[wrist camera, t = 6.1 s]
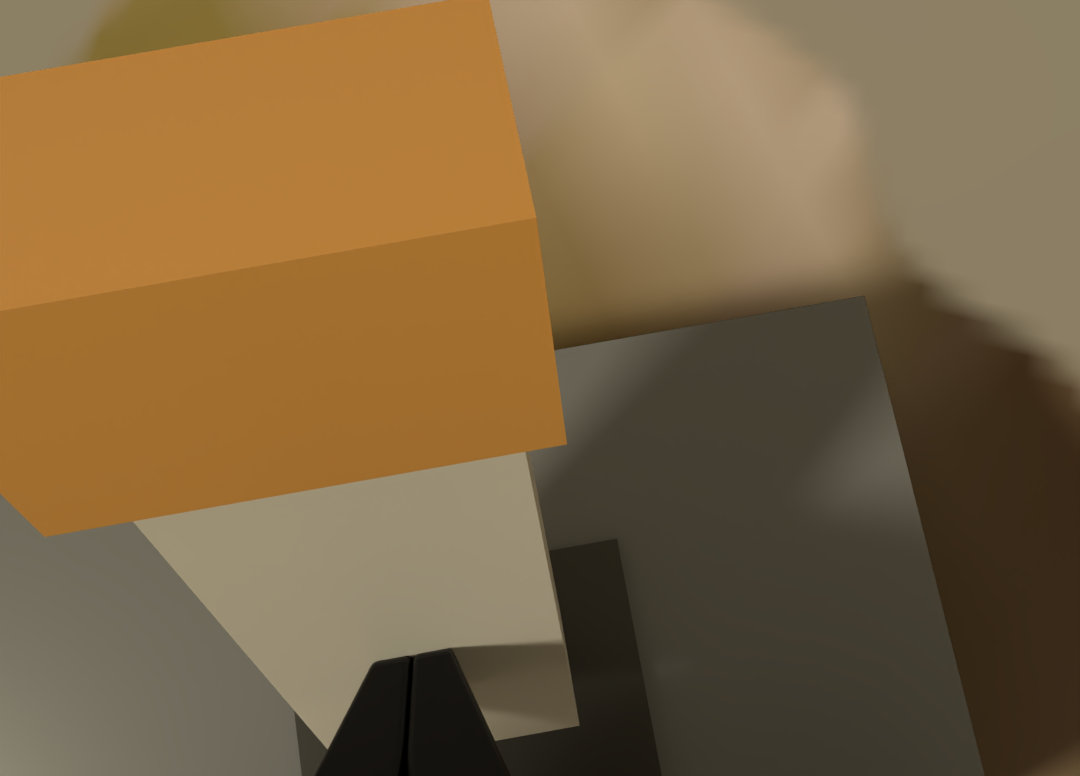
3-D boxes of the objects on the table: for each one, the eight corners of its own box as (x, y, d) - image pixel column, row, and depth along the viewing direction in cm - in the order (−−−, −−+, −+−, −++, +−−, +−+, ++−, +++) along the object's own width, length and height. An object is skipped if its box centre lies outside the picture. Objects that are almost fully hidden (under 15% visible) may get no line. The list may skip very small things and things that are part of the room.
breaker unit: (885, 855, 18) (1047, 1002, 12) (192, 982, 18) (7, 1196, 12) (773, 366, 20) (865, 282, 14) (144, 477, 20) (-38, 441, 14)
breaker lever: (609, 753, 11) (536, 217, 5) (319, 806, 11) (-158, 339, 5) (576, 580, 13) (487, -7, 6) (322, 625, 13) (-36, 83, 6)
